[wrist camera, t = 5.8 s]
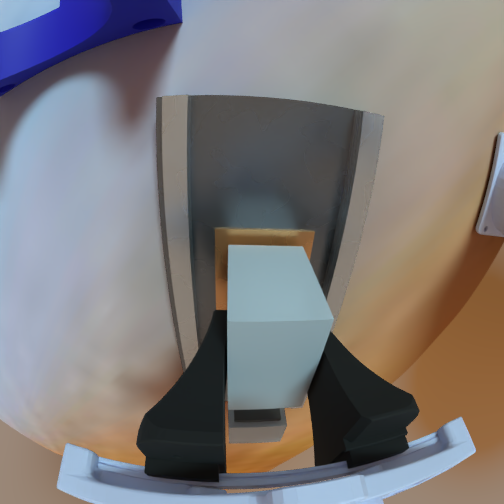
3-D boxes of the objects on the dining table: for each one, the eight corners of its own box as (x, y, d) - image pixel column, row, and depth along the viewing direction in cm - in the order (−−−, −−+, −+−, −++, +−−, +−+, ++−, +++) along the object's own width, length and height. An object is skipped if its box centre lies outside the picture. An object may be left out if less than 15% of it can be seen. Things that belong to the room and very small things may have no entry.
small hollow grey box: (277, 361, 19) (287, 423, 14) (272, 385, 20) (279, 441, 16) (227, 362, 18) (228, 425, 14) (227, 386, 20) (229, 443, 16)
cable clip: (179, -42, 7) (153, -102, 2) (182, 23, 9) (149, -25, 4) (2, 37, 7) (-63, 38, 2) (2, 95, 9) (-67, 113, 4)
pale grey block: (302, 246, 13) (334, 319, 9) (285, 338, 16) (300, 409, 12) (228, 244, 13) (227, 321, 9) (227, 338, 16) (228, 412, 12)
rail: (368, 113, 12) (393, 118, 10) (302, 384, 23) (307, 407, 21) (164, 97, 11) (149, 97, 9) (191, 386, 22) (189, 409, 20)
